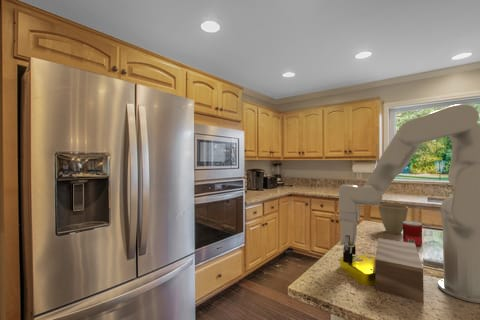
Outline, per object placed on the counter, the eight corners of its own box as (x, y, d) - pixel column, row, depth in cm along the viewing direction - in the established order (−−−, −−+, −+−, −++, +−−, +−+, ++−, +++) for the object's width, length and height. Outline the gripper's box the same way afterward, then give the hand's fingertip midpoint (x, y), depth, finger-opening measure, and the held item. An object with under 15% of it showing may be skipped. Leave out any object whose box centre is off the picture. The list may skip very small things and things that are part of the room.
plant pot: (395, 228, 144) (395, 203, 145) (415, 235, 130) (414, 207, 130) (373, 229, 143) (372, 203, 144) (390, 236, 129) (389, 208, 129)
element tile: (364, 287, 78) (364, 273, 78) (337, 267, 93) (337, 255, 93) (401, 282, 81) (401, 269, 81) (370, 264, 96) (369, 252, 96)
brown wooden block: (378, 262, 97) (378, 237, 97) (415, 269, 90) (414, 243, 90) (375, 290, 76) (375, 259, 76) (423, 302, 69) (423, 268, 69)
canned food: (426, 246, 113) (425, 224, 113) (410, 246, 113) (409, 224, 113) (414, 241, 121) (414, 220, 121) (399, 241, 121) (399, 220, 121)
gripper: (342, 210, 101) (343, 249, 101) (335, 218, 86) (335, 264, 86) (361, 212, 97) (362, 252, 97) (357, 221, 82) (357, 269, 82)
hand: (349, 258), depth 91 cm, fingers open, 9 cm apart
